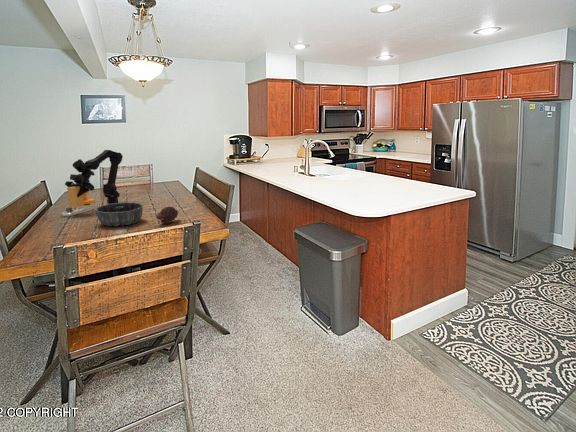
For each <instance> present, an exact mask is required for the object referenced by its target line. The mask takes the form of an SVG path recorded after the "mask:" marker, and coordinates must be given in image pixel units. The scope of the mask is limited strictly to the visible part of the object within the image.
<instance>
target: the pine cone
mask: <svg viewBox="0 0 576 432" xmlns="http://www.w3.org/2000/svg"><path fill="white" fill-rule="evenodd" d="M178 213H179V211H178V210H177V209H176V208H175V207H174V206H165V207H163V208H162V209H161V210H160V212H158V213H157V214H156V215H155V218H156V219H157V220H159V221H160V222H161V223H162V224H166V225H167V224H168V225H169V224H170V223H172V222H173V221H175V220H176V218H178V215H179V214H178Z"/></svg>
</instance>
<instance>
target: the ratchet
mask: <svg viewBox="0 0 576 432" xmlns="http://www.w3.org/2000/svg"><path fill="white" fill-rule="evenodd" d="M93 209H94V208H93V206H85V207H82V208H78V209H75V210H73V207H70V206H69V207H65V210H66V211H63V212H61V216H62V217H67V218H69V217H75V216H78V214H81V213H86V212H88V211H93Z"/></svg>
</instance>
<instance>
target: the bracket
mask: <svg viewBox="0 0 576 432" xmlns="http://www.w3.org/2000/svg"><path fill="white" fill-rule="evenodd" d="M89 192H90V190H89V191H88V192H86V193H84V194H82V196H83V203H84V205H92V204H94V202H95V198H89V197H88V195H89Z"/></svg>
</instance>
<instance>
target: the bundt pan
mask: <svg viewBox="0 0 576 432" xmlns="http://www.w3.org/2000/svg"><path fill="white" fill-rule="evenodd" d="M143 207H144V204H142V203H139V202H130V201H129V202H118V203H114V204H107V203H106V204H104V205H101V206H98V207H96V208H95V209H94V212H95V213H96V216H97V219H98V221H99V223H101V224H102V225H104V226H108V227H119V226H122V227H124V226H129V225H134V224H136V223H138V222H139V221H140V220H141V219H142V217H143Z"/></svg>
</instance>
